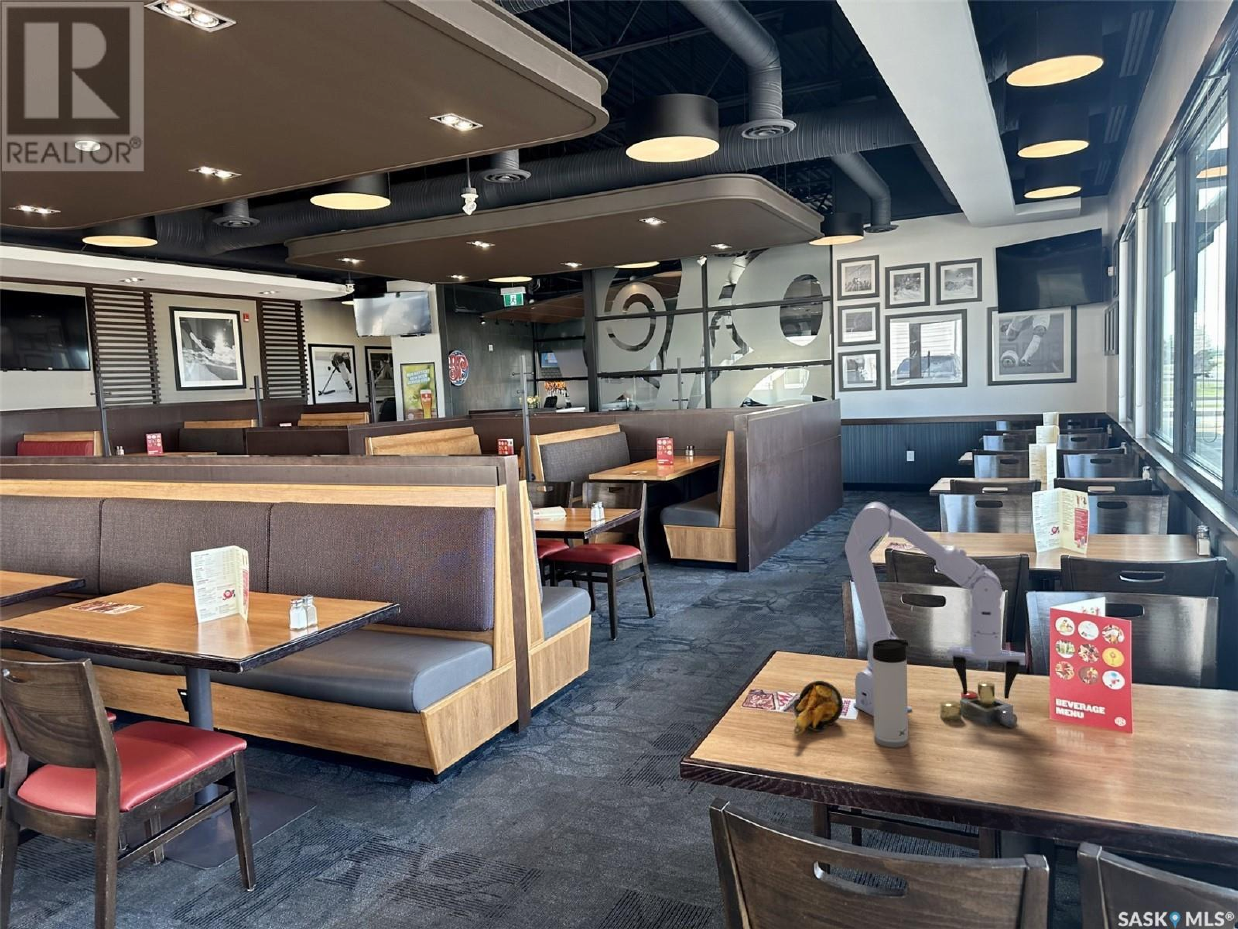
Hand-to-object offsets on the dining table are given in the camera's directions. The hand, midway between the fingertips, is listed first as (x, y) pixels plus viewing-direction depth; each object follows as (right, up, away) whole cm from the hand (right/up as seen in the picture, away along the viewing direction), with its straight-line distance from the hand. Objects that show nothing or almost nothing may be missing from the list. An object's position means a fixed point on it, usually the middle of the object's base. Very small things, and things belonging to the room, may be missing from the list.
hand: (985, 695), depth 166 cm
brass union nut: (-7, -5, +1) cm, 9 cm away
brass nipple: (0, -4, 0) cm, 4 cm away
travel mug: (-22, -7, -9) cm, 25 cm away
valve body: (0, -5, 0) cm, 5 cm away
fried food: (-36, -7, -1) cm, 37 cm away
